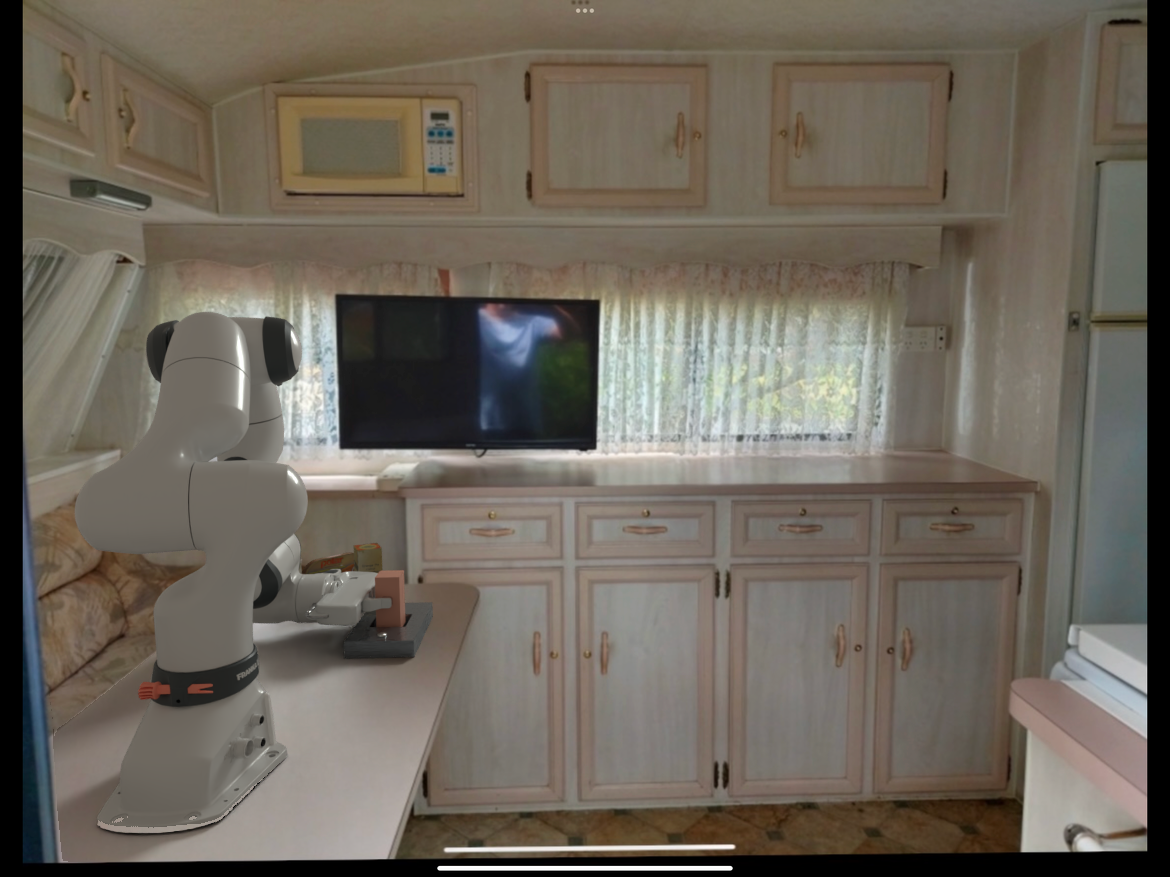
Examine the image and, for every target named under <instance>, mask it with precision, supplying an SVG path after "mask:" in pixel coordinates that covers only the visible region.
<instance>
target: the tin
mask: <svg viewBox="0 0 1170 877" xmlns="http://www.w3.org/2000/svg"><path fill="white" fill-rule="evenodd" d="M331 569H340V570H341V573H343V572H348V571H354V552H343V553H339V554H334V555H330V556H324V557H320V558H315V559H313V560H311V561H309V562H308V563H307V564H305V567H303V569H302V574H317V573H323V572H326V571H328V570H331Z"/></svg>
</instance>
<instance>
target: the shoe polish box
mask: <svg viewBox="0 0 1170 877" xmlns="http://www.w3.org/2000/svg"><path fill="white" fill-rule="evenodd" d="M382 552H383V549H382V546H381V545H380V544H379V543H378V542H370V543H363V544H354V545H353V553H354V571H358V572H375V573H379V572H380V571H383V553H382Z"/></svg>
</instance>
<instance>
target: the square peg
mask: <svg viewBox="0 0 1170 877" xmlns="http://www.w3.org/2000/svg"><path fill="white" fill-rule="evenodd" d="M405 594H406V592H405V570H404V569H402V570H401V569H400V570H398V569H397V570H394V569H393V570H389V569H388V570H382V571H380V572H379V573H378V574H377V575H376V577H375V598H382V597H383V596H387V597H388V596H391V597H392V598H393V604H392V606H391V607H390V608H381V609H378V610H376V627H403V625H404V623H405V622H406V621H405V603H406V597H405V596H406V595H405Z"/></svg>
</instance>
